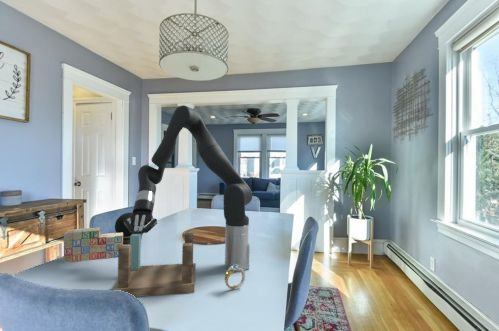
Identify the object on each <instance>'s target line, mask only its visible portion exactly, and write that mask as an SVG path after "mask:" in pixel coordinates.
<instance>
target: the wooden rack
mask: <svg viewBox="0 0 499 331" xmlns="http://www.w3.org/2000/svg"><path fill="white" fill-rule="evenodd" d="M181 250H182V252H181V253H182V254H181V255H182V256H181V257H182V258H181V259H182V260H181V263H175V264H170V263H169V264H154V265H153V264H152V265H150V264H149V265H140V268H139V269H138V270H131V245H130V244H129V245H123V246H120V247H119V248H118V257H117V284H116V285H115V286H114V288H113V289H112V291H113V290H121V291H124V292H128V293H130V294H132V295H134V296H135V297H145V296H146V297H147V296H159V295H171V294H173V295H174V294H188V293H195V288H196V287H195V286H196V271H197V270H196V269H197V268H196V265H197V264H196V263H195V262H194V232H185V234H184V242H183V243H182V249H181Z"/></svg>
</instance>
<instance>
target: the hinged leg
mask: <svg viewBox="0 0 499 331" xmlns="http://www.w3.org/2000/svg"><path fill="white" fill-rule="evenodd" d="M141 244H142V238H141V234H132V235H131V236H130V244H129V245H131V270H138V269H139V268H140V266H141V248H142V247H141V246H142V245H141Z"/></svg>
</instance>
